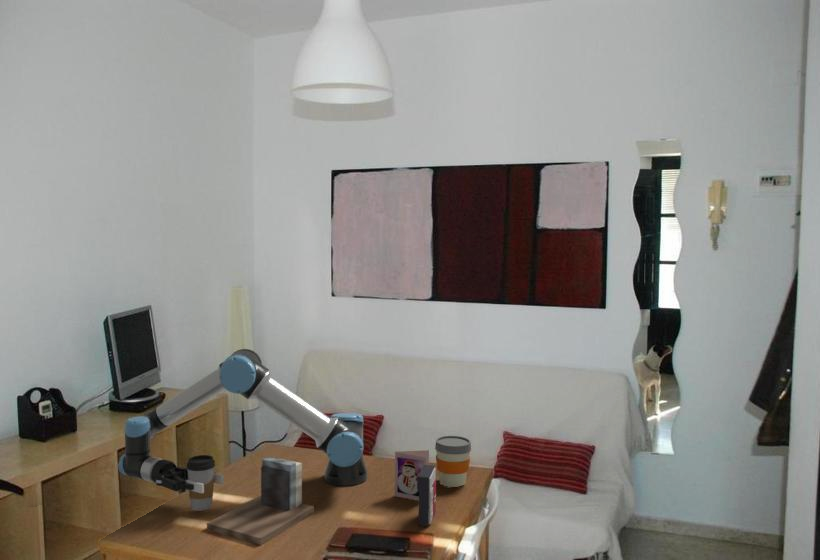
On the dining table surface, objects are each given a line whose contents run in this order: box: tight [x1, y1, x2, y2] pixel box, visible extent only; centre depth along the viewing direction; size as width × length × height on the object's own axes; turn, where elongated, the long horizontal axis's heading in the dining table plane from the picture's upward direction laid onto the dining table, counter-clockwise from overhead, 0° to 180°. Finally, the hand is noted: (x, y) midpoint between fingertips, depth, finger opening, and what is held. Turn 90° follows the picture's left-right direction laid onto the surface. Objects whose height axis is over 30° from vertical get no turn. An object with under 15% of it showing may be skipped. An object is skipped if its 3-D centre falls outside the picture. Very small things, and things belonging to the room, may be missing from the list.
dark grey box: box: [417, 464, 437, 527], centre depth 203 cm, size 11×4×15 cm, turn 168°
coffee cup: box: [186, 454, 216, 511], centre depth 205 cm, size 8×8×15 cm
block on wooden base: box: [206, 456, 315, 546], centre depth 200 cm, size 20×25×16 cm
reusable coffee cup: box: [434, 435, 472, 488], centre depth 233 cm, size 13×13×15 cm
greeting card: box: [393, 449, 430, 501], centre depth 221 cm, size 11×7×15 cm, turn 65°
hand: (213, 484), depth 203 cm, fingers closed on coffee cup, 7 cm apart
